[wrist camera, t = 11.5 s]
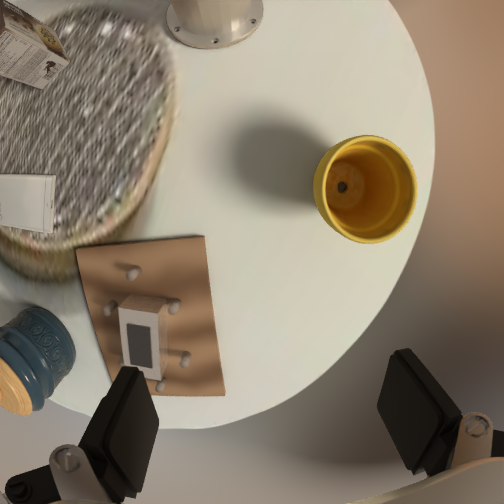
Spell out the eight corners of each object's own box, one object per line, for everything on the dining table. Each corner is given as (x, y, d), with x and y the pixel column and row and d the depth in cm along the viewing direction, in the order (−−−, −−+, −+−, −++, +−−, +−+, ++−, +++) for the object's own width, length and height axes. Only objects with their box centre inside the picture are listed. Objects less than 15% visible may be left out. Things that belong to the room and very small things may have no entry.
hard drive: (-3, 225, 32) (48, 234, 33) (-1, 173, 31) (51, 175, 31) (3, 223, 34) (55, 232, 35) (5, 173, 32) (58, 175, 33)
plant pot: (365, 236, 36) (402, 256, 26) (290, 215, 35) (307, 229, 25) (385, 160, 33) (427, 157, 24) (311, 133, 32) (336, 118, 23)
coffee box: (28, 58, 27) (-35, 31, 11) (56, 30, 26) (-2, -7, 11) (41, 91, 29) (-32, 68, 13) (71, 62, 28) (4, 24, 13)
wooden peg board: (79, 247, 35) (66, 254, 32) (204, 236, 35) (200, 242, 32) (119, 388, 41) (112, 401, 37) (225, 391, 41) (224, 406, 37)
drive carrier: (131, 293, 36) (117, 308, 31) (167, 298, 36) (157, 314, 31) (135, 356, 38) (125, 374, 33) (168, 361, 38) (160, 381, 34)
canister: (77, 381, 41) (32, 448, 23) (23, 351, 39) (-28, 403, 22) (79, 323, 38) (15, 390, 21) (20, 292, 36) (-49, 338, 19)
